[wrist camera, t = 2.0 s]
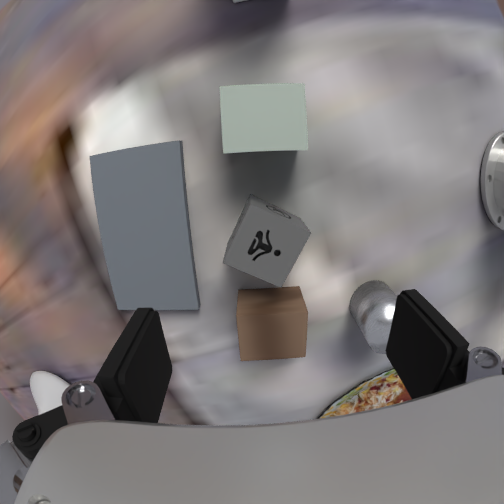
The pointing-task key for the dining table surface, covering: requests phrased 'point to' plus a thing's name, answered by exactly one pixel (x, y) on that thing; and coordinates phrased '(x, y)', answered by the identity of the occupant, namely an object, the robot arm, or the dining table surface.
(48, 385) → the flower in vase
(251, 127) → the sage block
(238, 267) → the dice cube
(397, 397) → the rice dish
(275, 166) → the dining table surface
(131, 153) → the slate mat
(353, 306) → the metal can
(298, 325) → the walnut block
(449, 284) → the dining table surface
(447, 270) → the dining table surface
